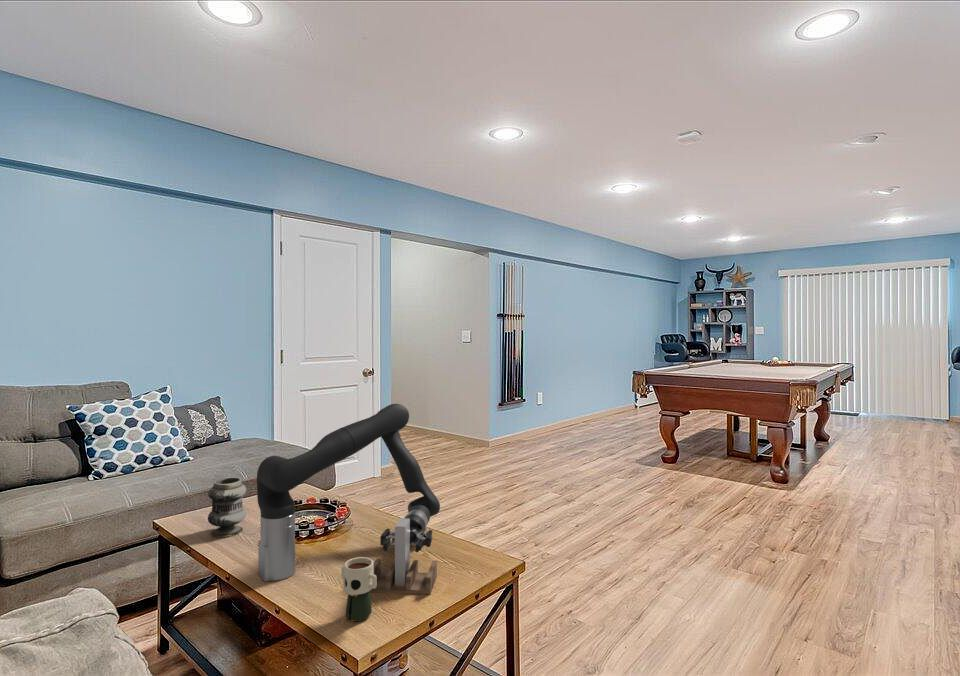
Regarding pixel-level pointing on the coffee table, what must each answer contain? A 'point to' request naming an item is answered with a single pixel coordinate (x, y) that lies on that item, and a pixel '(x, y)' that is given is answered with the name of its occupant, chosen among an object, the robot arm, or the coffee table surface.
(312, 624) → the coffee table surface
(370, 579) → the character mug
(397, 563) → the clay strip
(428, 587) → the drying rack
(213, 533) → the grey stone urn vase
